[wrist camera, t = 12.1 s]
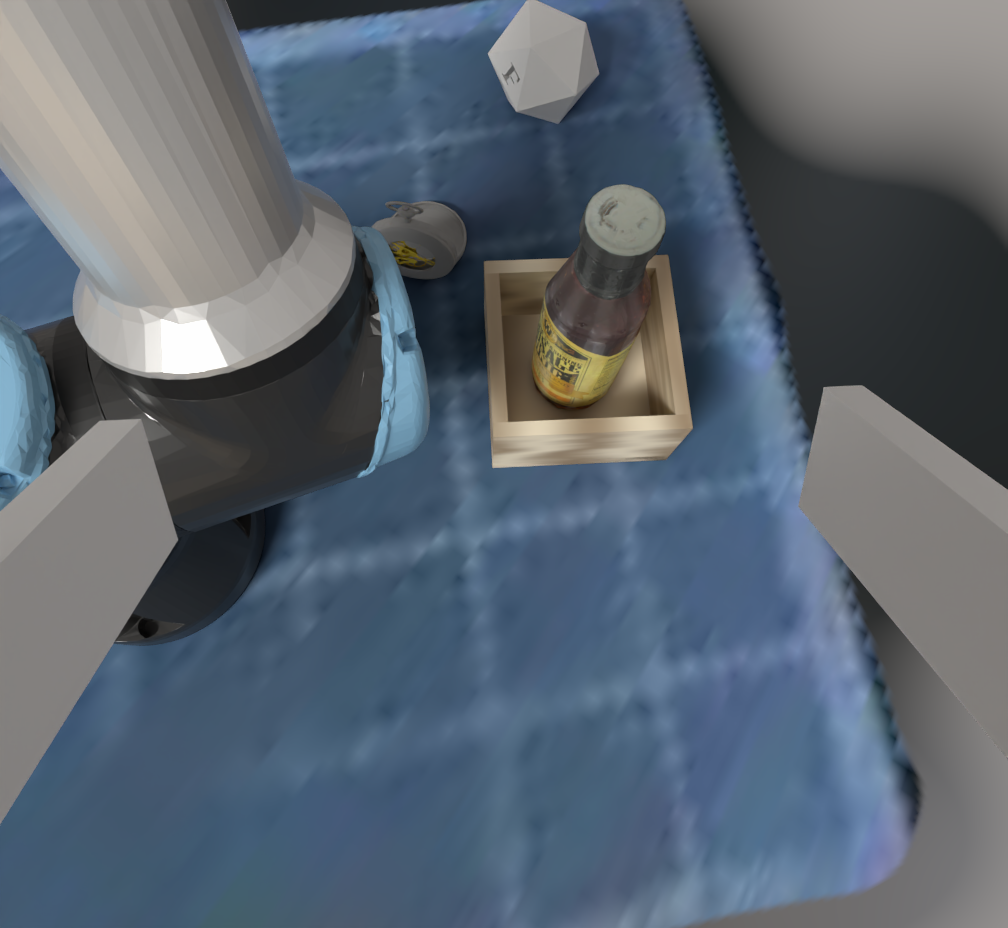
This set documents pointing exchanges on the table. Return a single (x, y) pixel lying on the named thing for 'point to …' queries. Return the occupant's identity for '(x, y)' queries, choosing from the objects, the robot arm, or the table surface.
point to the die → (544, 61)
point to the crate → (615, 417)
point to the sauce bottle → (597, 298)
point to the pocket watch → (424, 238)
